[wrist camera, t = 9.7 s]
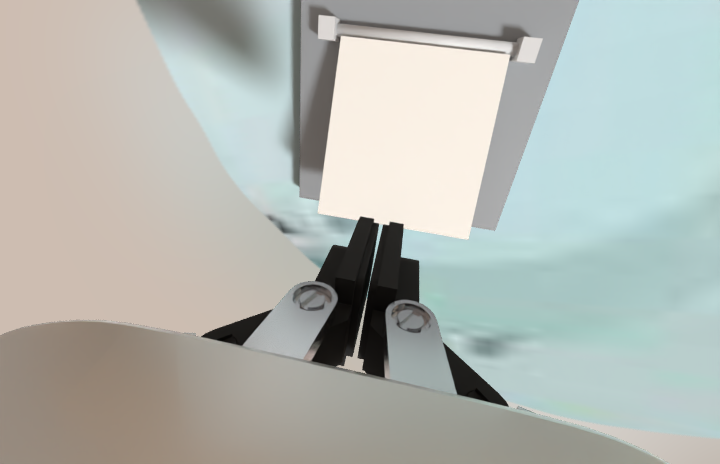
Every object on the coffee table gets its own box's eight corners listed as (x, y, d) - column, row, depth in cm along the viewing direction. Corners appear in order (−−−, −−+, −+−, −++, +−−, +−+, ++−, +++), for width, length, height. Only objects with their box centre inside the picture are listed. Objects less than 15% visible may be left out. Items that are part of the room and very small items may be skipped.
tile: (317, 213, 21) (321, 211, 22) (468, 239, 20) (464, 236, 21) (341, 35, 19) (344, 43, 20) (510, 54, 18) (504, 61, 19)
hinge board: (313, -256, 15) (292, -319, 13) (658, -253, 14) (711, -325, 11) (305, 190, 27) (293, 203, 25) (491, 222, 25) (498, 239, 23)
